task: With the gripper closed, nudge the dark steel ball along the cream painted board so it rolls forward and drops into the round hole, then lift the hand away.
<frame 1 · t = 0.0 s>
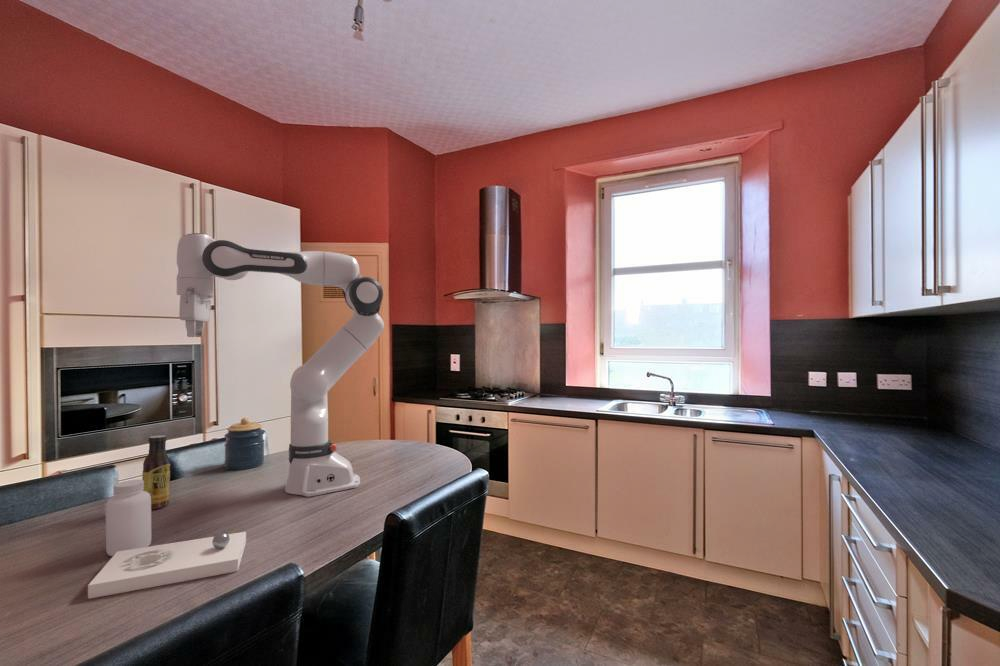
hand: (195, 337, 130), 48 cm above the table, fingers open, 8 cm apart
canister: (244, 465, 167), on the table
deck: (176, 567, 94), on the table
pill bottle: (129, 549, 102), on the table
sauce bottle: (156, 507, 127), on the table
ball: (221, 540, 97), point 4 cm above the table, touching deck
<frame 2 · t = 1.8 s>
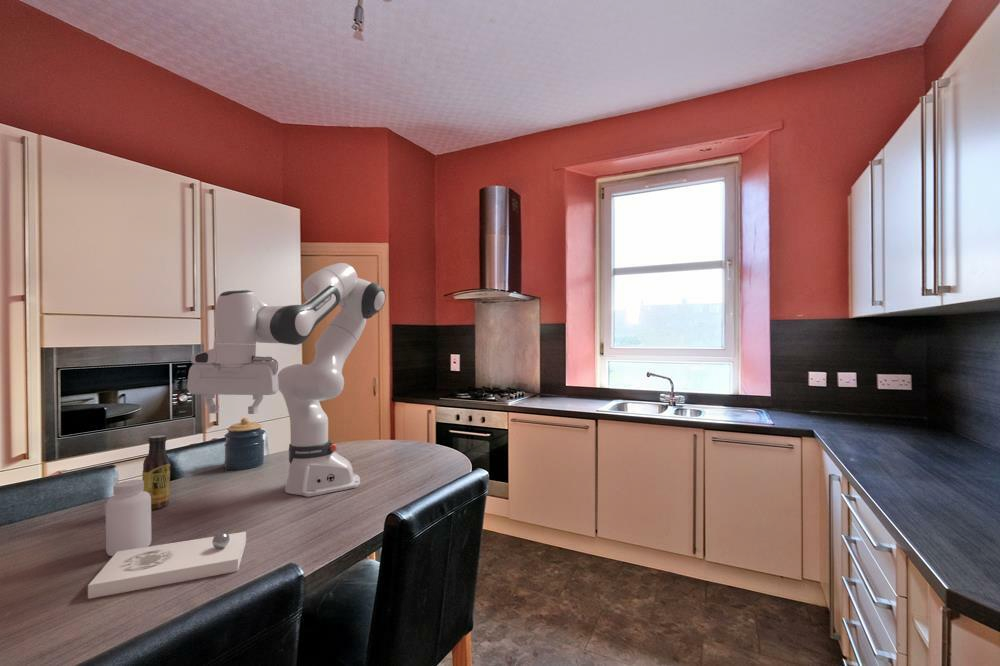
hand: (233, 413, 108), 30 cm above the table, fingers open, 8 cm apart
nothing on the table moved.
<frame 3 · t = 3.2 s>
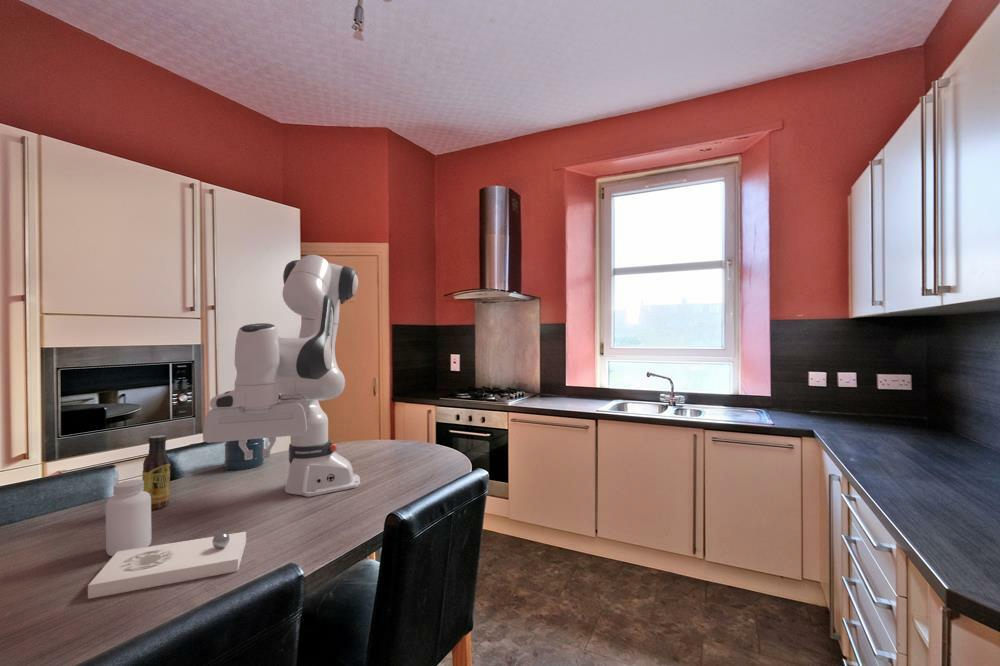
hand: (257, 458, 100), 21 cm above the table, fingers closed
nothing on the table moved.
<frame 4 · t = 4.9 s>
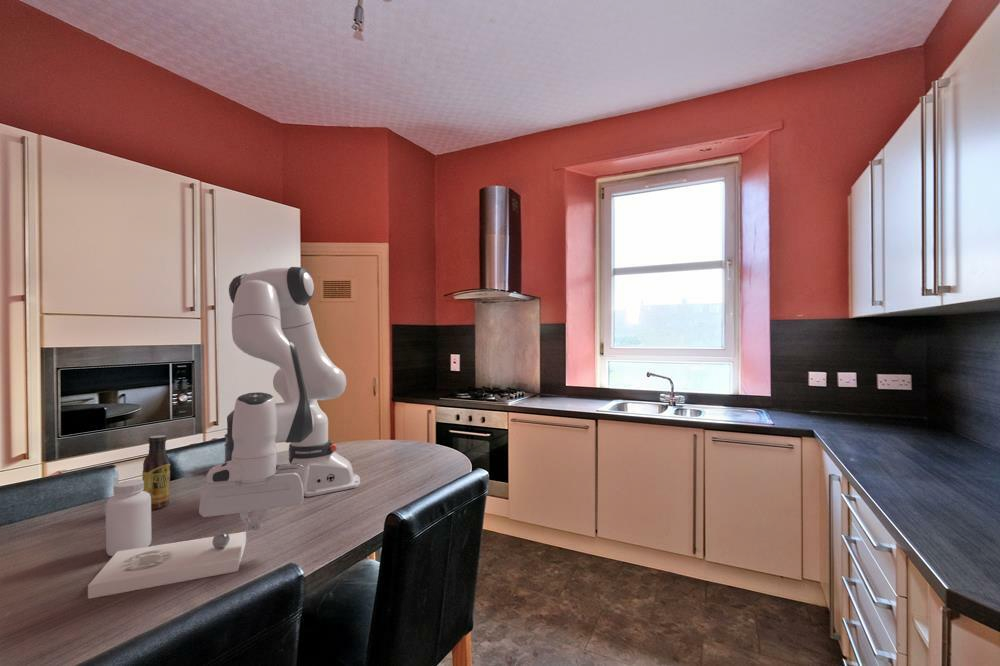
hand: (253, 529, 99), 5 cm above the table, fingers closed
nothing on the table moved.
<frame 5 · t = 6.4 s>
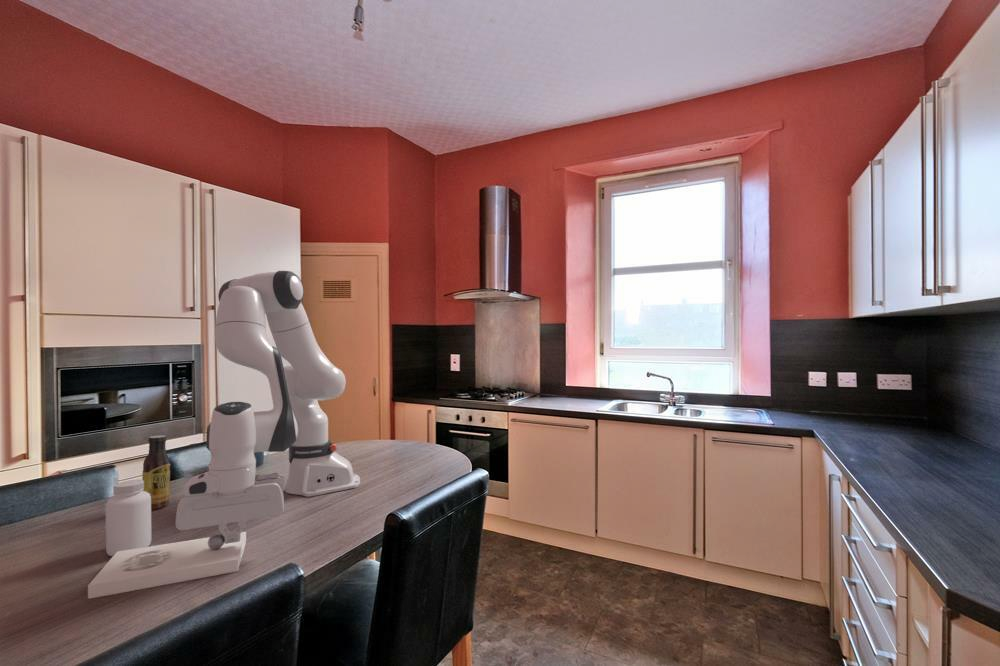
hand: (232, 541, 97), 4 cm above the table, fingers closed
ball: (216, 541, 96), point 4 cm above the table, tilted 30°, touching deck
everything else where it was.
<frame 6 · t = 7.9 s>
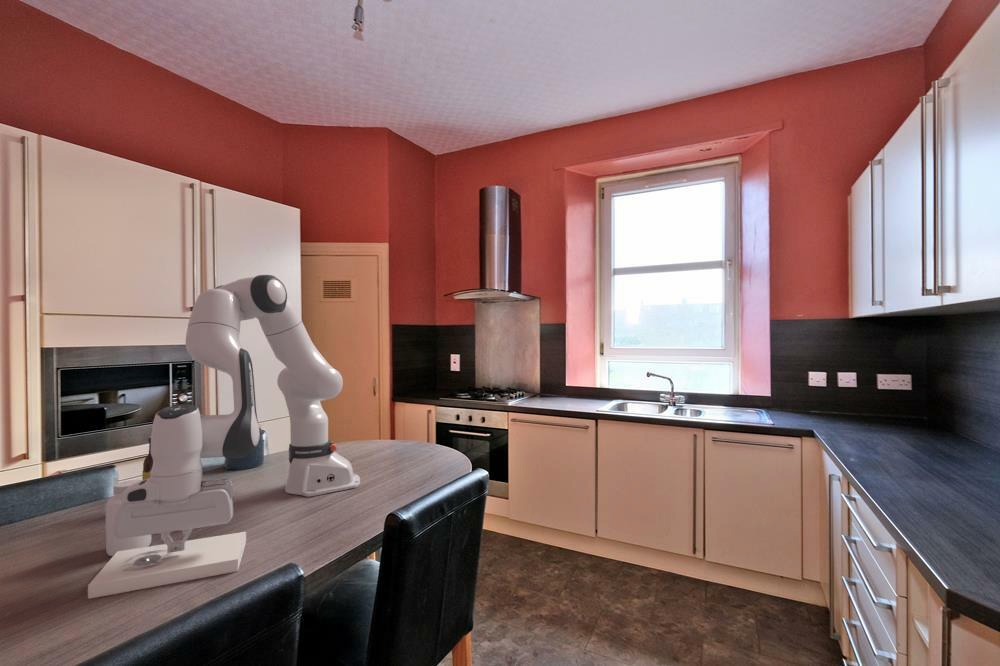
hand: (176, 550, 94), 4 cm above the table, fingers closed
ball: (142, 565, 91), point 2 cm above the table, tilted 166°
everything else where it was.
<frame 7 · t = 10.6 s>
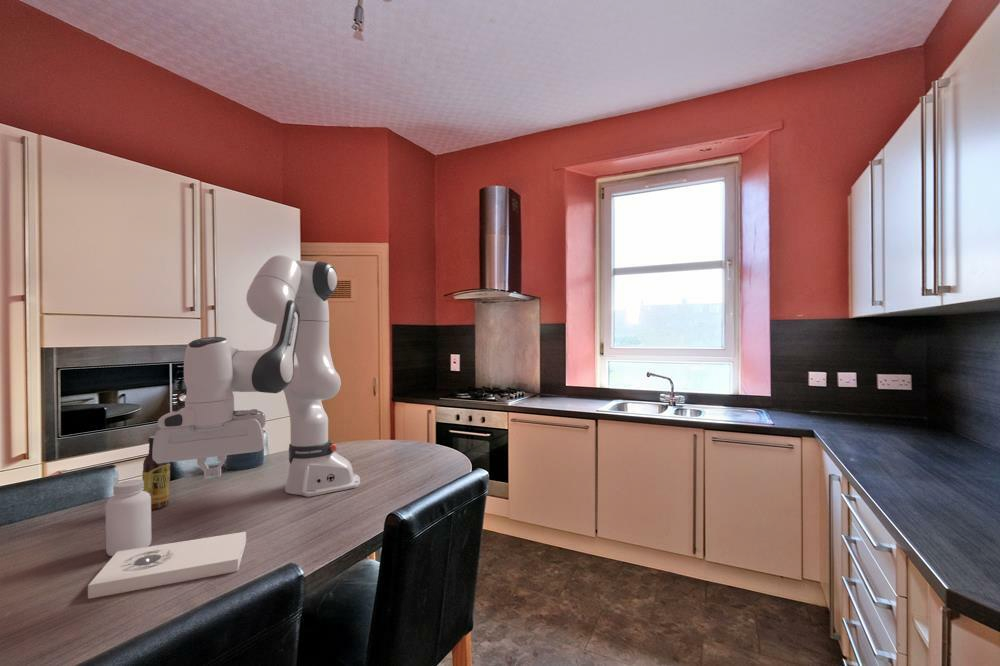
hand: (212, 476, 96), 18 cm above the table, fingers closed
nothing on the table moved.
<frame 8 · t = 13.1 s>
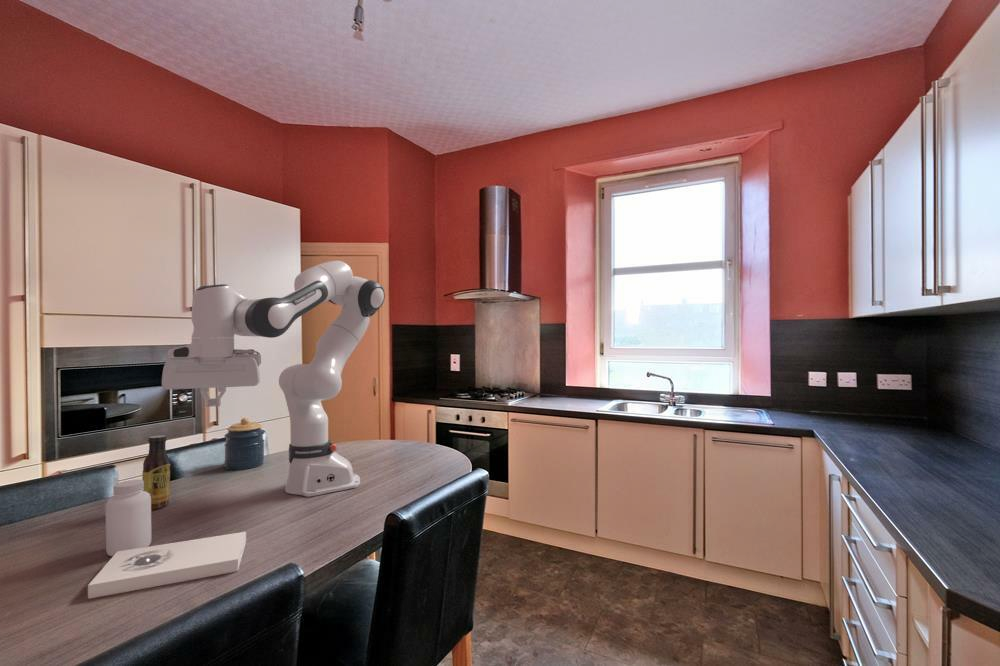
hand: (213, 406, 110), 31 cm above the table, fingers closed
nothing on the table moved.
at the end: ball 0.6 cm from the target spot in the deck, point 1.6 cm above the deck's base; ball moved 13.8 cm from its start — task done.
